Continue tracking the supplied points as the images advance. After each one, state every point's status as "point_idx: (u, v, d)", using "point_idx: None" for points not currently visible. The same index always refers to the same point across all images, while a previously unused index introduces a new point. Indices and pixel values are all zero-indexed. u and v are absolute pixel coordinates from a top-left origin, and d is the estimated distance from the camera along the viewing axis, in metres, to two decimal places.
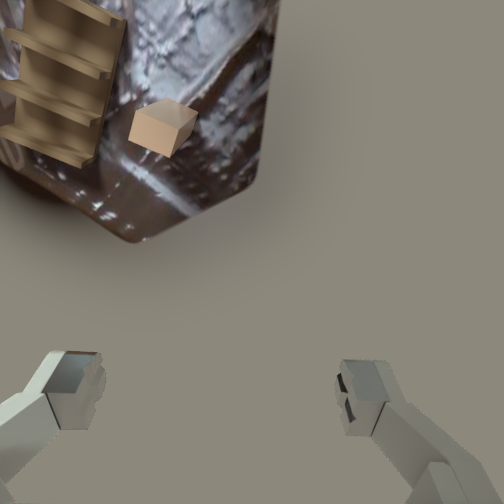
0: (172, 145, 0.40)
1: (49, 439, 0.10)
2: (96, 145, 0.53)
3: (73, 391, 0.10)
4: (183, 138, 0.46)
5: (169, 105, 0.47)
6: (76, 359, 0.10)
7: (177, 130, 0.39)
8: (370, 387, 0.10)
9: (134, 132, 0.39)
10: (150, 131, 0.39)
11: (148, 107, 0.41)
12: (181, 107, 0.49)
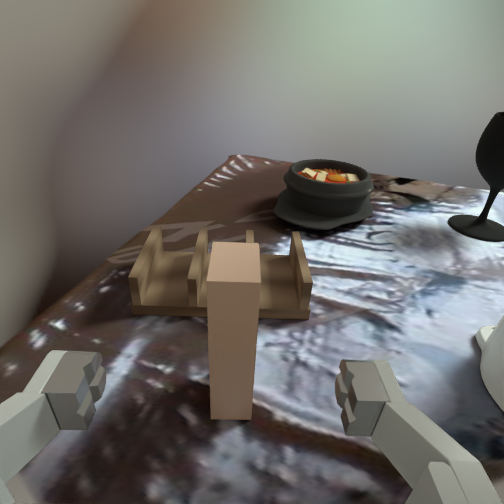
0: (230, 280, 0.22)
1: (49, 439, 0.10)
2: (156, 308, 0.40)
3: (73, 391, 0.10)
4: (221, 357, 0.25)
5: None
6: (76, 359, 0.10)
7: (258, 281, 0.22)
8: (371, 387, 0.10)
9: (227, 245, 0.26)
10: (238, 257, 0.24)
11: None
12: None
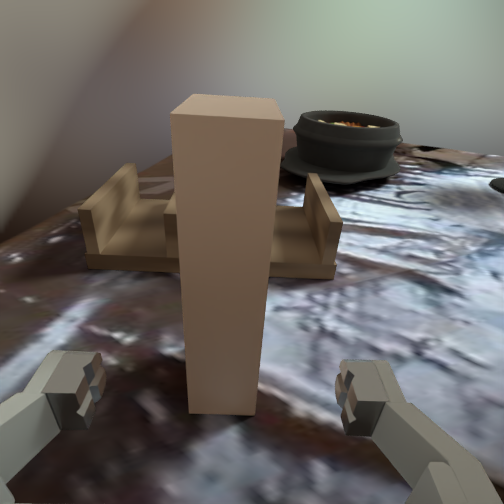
0: (219, 116, 0.10)
1: (49, 439, 0.10)
2: (121, 259, 0.28)
3: (73, 391, 0.10)
4: (204, 298, 0.14)
5: None
6: (76, 359, 0.10)
7: (279, 119, 0.11)
8: (370, 387, 0.10)
9: (218, 96, 0.14)
10: (238, 103, 0.13)
11: None
12: None
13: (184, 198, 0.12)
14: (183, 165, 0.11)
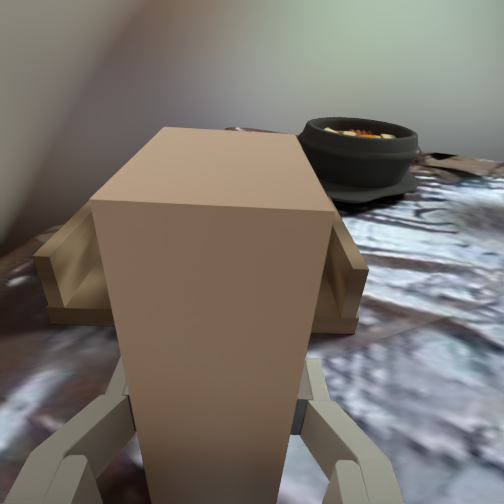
0: (197, 202, 0.05)
1: (126, 441, 0.10)
2: (92, 313, 0.23)
3: None
4: (181, 466, 0.08)
5: None
6: None
7: (323, 208, 0.05)
8: None
9: (203, 133, 0.09)
10: (236, 151, 0.07)
11: None
12: None
13: (135, 340, 0.06)
14: (127, 290, 0.06)
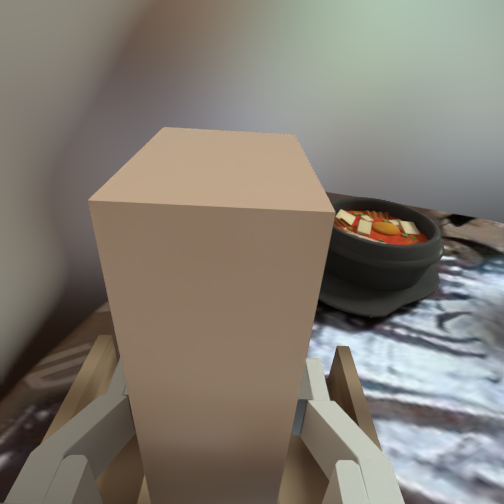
0: (197, 203, 0.05)
1: (126, 441, 0.10)
2: None
3: None
4: (181, 468, 0.08)
5: None
6: None
7: (323, 209, 0.05)
8: None
9: (203, 133, 0.09)
10: (236, 151, 0.07)
11: None
12: None
13: (134, 342, 0.06)
14: (127, 292, 0.06)
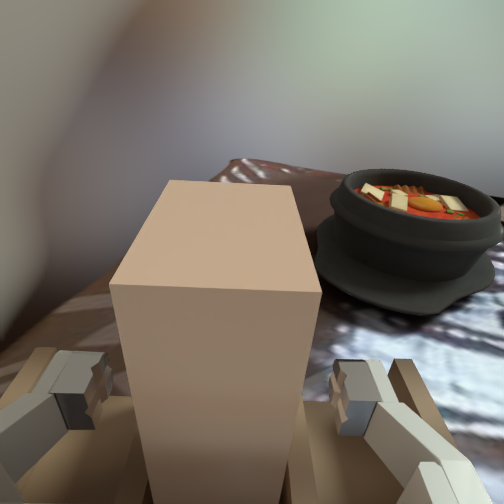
0: (202, 284, 0.06)
1: (57, 439, 0.10)
2: None
3: (81, 391, 0.10)
4: (186, 495, 0.09)
5: None
6: (84, 359, 0.10)
7: (312, 288, 0.06)
8: (363, 387, 0.10)
9: (206, 187, 0.09)
10: (236, 213, 0.08)
11: None
12: None
13: (146, 393, 0.07)
14: (140, 353, 0.06)
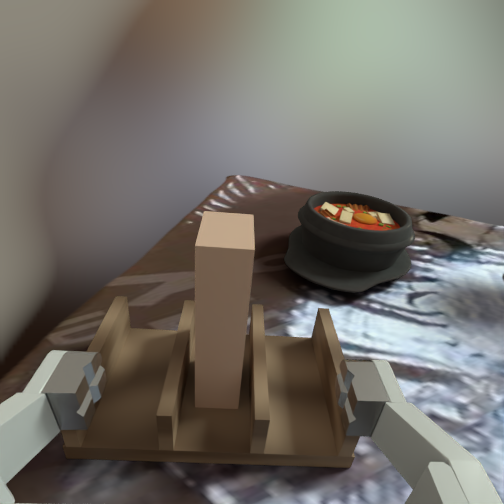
0: (221, 246, 0.20)
1: (49, 439, 0.10)
2: (106, 451, 0.24)
3: (73, 391, 0.10)
4: (208, 336, 0.23)
5: None
6: (76, 359, 0.10)
7: (252, 248, 0.20)
8: (370, 387, 0.10)
9: (219, 215, 0.24)
10: (230, 226, 0.22)
11: None
12: None
13: (200, 284, 0.21)
14: (200, 268, 0.21)
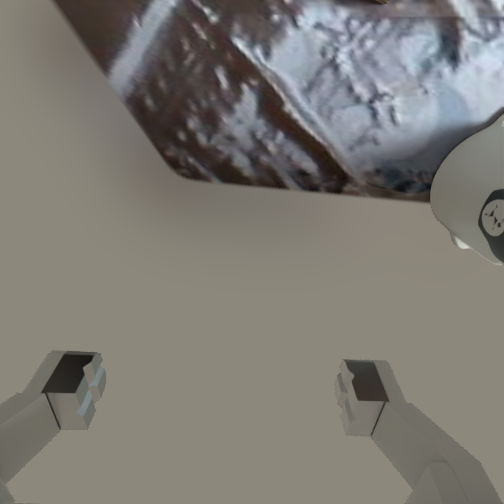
0: None
1: (49, 439, 0.10)
2: None
3: (73, 391, 0.10)
4: None
5: None
6: (76, 359, 0.10)
7: None
8: (370, 387, 0.10)
9: None
10: None
11: None
12: None
13: None
14: None
